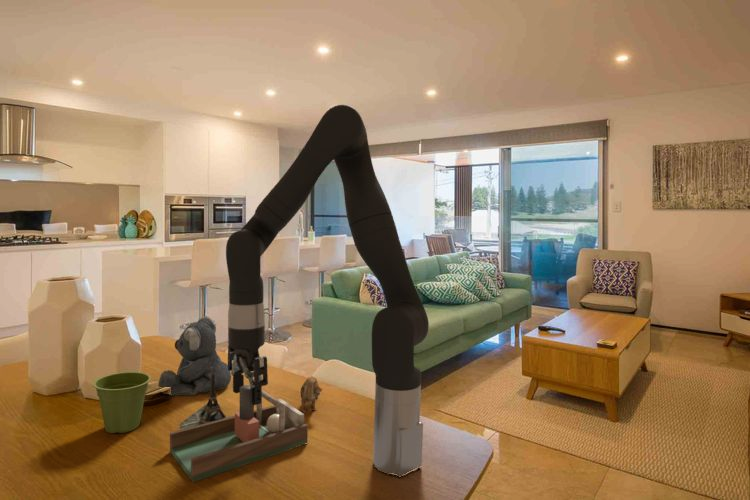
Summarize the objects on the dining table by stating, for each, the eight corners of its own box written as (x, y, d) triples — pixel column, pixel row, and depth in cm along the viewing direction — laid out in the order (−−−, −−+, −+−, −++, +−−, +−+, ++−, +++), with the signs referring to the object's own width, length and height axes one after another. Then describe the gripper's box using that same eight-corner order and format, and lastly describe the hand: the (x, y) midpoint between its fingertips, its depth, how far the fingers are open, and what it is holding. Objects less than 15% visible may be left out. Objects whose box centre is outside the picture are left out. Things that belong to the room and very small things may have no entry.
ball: (287, 415, 108) (271, 420, 106) (288, 431, 109) (272, 437, 106) (279, 409, 111) (263, 414, 109) (279, 425, 112) (263, 431, 109)
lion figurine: (322, 416, 120) (322, 381, 120) (300, 418, 119) (301, 382, 118) (318, 394, 135) (318, 363, 134) (298, 395, 134) (299, 363, 133)
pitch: (307, 443, 106) (308, 400, 105) (192, 482, 90) (192, 431, 90) (276, 421, 117) (277, 381, 116) (169, 451, 101) (169, 406, 100)
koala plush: (182, 375, 147) (181, 312, 145) (240, 377, 146) (240, 314, 145) (153, 397, 130) (153, 325, 128) (219, 400, 129) (219, 328, 127)
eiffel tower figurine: (208, 404, 127) (208, 354, 126) (244, 408, 125) (244, 358, 124) (174, 429, 112) (174, 373, 111) (215, 434, 110) (215, 377, 109)
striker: (260, 443, 103) (260, 391, 102) (247, 447, 101) (247, 394, 100) (246, 431, 108) (246, 381, 107) (233, 434, 106) (233, 384, 105)
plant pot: (128, 442, 105) (127, 392, 104) (81, 435, 107) (80, 386, 106) (162, 419, 116) (161, 373, 115) (119, 413, 119) (118, 369, 118)
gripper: (278, 327, 99) (278, 404, 100) (248, 315, 110) (248, 384, 111) (244, 332, 94) (245, 413, 95) (216, 319, 105) (216, 392, 106)
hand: (246, 397), depth 103 cm, fingers open, 8 cm apart
